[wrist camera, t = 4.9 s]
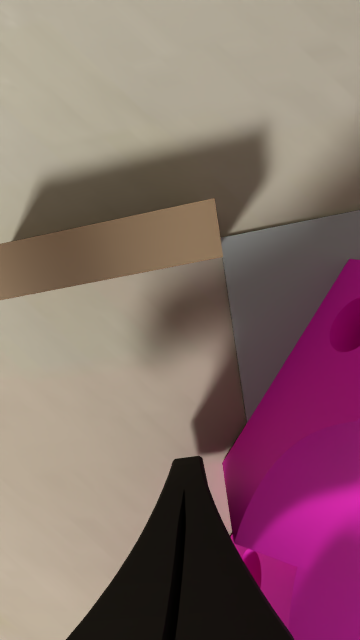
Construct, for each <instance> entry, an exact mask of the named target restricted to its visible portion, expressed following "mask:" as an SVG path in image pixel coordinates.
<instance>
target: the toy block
mask: <svg viewBox="0 0 360 640" xmlns="http://www.w3.org/2000/svg"><path fill="white" fill-rule="evenodd" d="M222 464H223V471H224V478H225V485H226V492H227V499H228V505H229V512H230V519H231V526H232V533H233V534H232V535H231V537H230V538H231V539H232V541H233V543H234V545H235V547H236V549H237V551H238V552H239V554H240V556H241V558H242V560H243V561H244V563H245V565H246V566H247V568H248V570H249V571H250V573H251V575H252V576H253V578H254V579H255V581H256V583H257V584H258V586H259V588H260V589H261V591H262V592H263V594H264V595H265V597H266V598H267V600H268V601H269V603H270V604H271V606H272V607H273V609H274V610H275V612H276V613H277V615H278V616H279V618H280V619H281V620H282V622H283V623H284V625H285V626H286V627H287V629H288V630H289V632H290V633H291V634H292V636H293V638H294V640H360V260H355V259H349V260H348V262H347V263H346V265H345V266H344V268H343V270H342V271H341V273H340V274H339V276H338V278H337V279H336V281H335V282H334V284H333V286H332V287H331V289H330V291H329V292H328V294H327V295H326V297H325V299H324V300H323V302H322V303H321V305H320V307H319V308H318V310H317V311H316V313H315V315H314V316H313V318H312V319H311V321H310V323H309V324H308V326H307V328H306V329H305V331H304V332H303V334H302V336H301V337H300V339H299V340H298V342H297V344H296V345H295V347H294V348H293V350H292V352H291V353H290V355H289V356H288V358H287V360H286V361H285V363H284V365H283V366H282V368H281V369H280V371H279V373H278V374H277V376H276V377H275V379H274V381H273V382H272V384H271V385H270V387H269V389H268V390H267V392H266V393H265V395H264V397H263V398H262V400H261V402H260V403H259V405H258V406H257V408H256V410H255V411H254V413H253V414H252V416H251V418H250V419H249V421H248V422H247V424H246V426H245V427H244V429H243V430H242V432H241V434H240V435H239V437H238V439H237V440H236V442H235V443H234V445H233V447H232V448H231V450H230V451H229V453H228V455H227V456H226V458H225V459H224V461H223V463H222Z"/></svg>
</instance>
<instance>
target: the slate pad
mask: <svg viewBox="0 0 360 640" xmlns="http://www.w3.org/2000/svg"><path fill="white" fill-rule="evenodd" d="M220 239H221V245H222V252H223V264H224V271H225V277H226V284H227V291H228V298H229V305H230V311H231V318H232V325H233V332H234V338H235V345H236V352H237V359H238V366H239V372H240V379H241V386H242V393H243V400H244V406H245V413H246V420H247V422H248V421H249V419H250V418H251V416H252V414H253V413H254V411H255V410H256V408H257V406H258V405H259V403H260V402H261V400H262V398H263V397H264V395H265V393H266V392H267V390H268V389H269V387H270V385H271V384H272V382H273V381H274V379H275V377H276V376H277V374H278V373H279V371H280V369H281V368H282V366H283V365H284V363H285V361H286V360H287V358H288V356H289V355H290V353H291V352H292V350H293V348H294V347H295V345H296V344H297V342H298V340H299V339H300V337H301V336H302V334H303V332H304V331H305V329H306V328H307V326H308V324H309V323H310V321H311V319H312V318H313V316H314V315H315V313H316V311H317V310H318V308H319V307H320V305H321V303H322V302H323V300H324V299H325V297H326V295H327V294H328V292H329V291H330V289H331V287H332V286H333V284H334V282H335V281H336V279H337V278H338V276H339V274H340V273H341V271H342V270H343V268H344V266H345V265H346V263H347V262H348V260H349V259H355V260H360V210H357V211H352V212H347V213H342V214H337V215H332V216H327V217H322V218H317V219H312V220H307V221H302V222H297V223H292V224H287V225H282V226H277V227H272V228H267V229H262V230H257V231H252V232H247V233H242V234H237V235H232V236H227V237H222V238H220Z"/></svg>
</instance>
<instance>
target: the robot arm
mask: <svg viewBox="0 0 360 640" xmlns="http://www.w3.org/2000/svg"><path fill="white" fill-rule="evenodd" d="M66 640H294V638H293V636H292V634H291V633H290V632H289V630H288V629H287V627H286V626H285V625H284V623H283V622H282V620H281V619H280V618H279V616H278V615H277V613H276V612H275V610H274V609H273V607H272V606H271V604H270V603H269V601H268V600H267V598H266V597H265V595H264V594H263V592H262V591H261V589H260V588H259V586H258V584H257V583H256V581H255V579H254V578H253V576H252V575H251V573H250V571H249V570H248V568H247V566H246V565H245V563H244V561H243V560H242V558H241V556H240V554H239V552H238V551H237V549H236V547H235V545H234V543H233V541H232V539H231V538H230V536H229V534H228V532H227V530H226V528H225V526H224V523H223V521H222V519H221V517H220V515H219V512H218V510H217V508H216V505H215V503H214V500H213V498H212V495H211V493H210V490H209V487H208V483H207V478H206V473H205V469H204V464H203V459H202V457H200V456H195V457H187V458H179V459H175V460H174V461H173V463H172V466H171V469H170V472H169V475H168V477H167V480H166V482H165V485H164V488H163V490H162V492H161V494H160V497H159V499H158V501H157V504H156V506H155V508H154V510H153V512H152V514H151V516H150V518H149V520H148V522H147V524H146V526H145V528H144V530H143V532H142V533H141V535H140V537H139V539H138V541H137V542H136V544H135V546H134V547H133V549H132V551H131V552H130V554H129V556H128V557H127V559H126V560H125V562H124V563H123V565H122V566H121V568H120V570H119V571H118V573H117V574H116V576H115V577H114V579H113V580H112V581H111V583H110V584H109V586H108V587H107V588H106V590H105V591H104V592H103V594H102V595H101V596H100V598H99V599H98V600H97V602H96V603H95V604H94V606H93V607H92V608H91V610H90V611H89V612H88V614H87V615H86V616H85V617H84V619H83V620H82V621H81V622H80V624H79V625H78V626H77V627H76V628H75V629H74V631H73V632H72V633H71V634H70V635H69V637H68V638H67V639H66Z"/></svg>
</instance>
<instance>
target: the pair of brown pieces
mask: <svg viewBox="0 0 360 640" xmlns="http://www.w3.org/2000/svg"><path fill="white" fill-rule="evenodd" d="M220 257H223V252H222V245H221V239H220V232H219V225H218V218H217V211H216V205H215V198H212V199H208V200H203V201H198V202H194V203H189V204H184V205H180V206H175V207H170V208H166V209H161V210H156V211H152V212H147V213H142V214H138V215H133V216H128V217H124V218H119V219H114V220H110V221H105V222H100V223H96V224H91V225H86V226H82V227H77V228H72V229H68V230H63V231H58V232H54V233H49V234H44V235H40V236H35V237H30V238H26V239H21V240H16V241H12V242H7V243H2V244H0V300H4V299H9V298H14V297H19V296H24V295H29V294H35V293H40V292H45V291H50V290H55V289H60V288H65V287H71V286H76V285H81V284H86V283H91V282H96V281H101V280H107V279H112V278H117V277H122V276H127V275H132V274H138V273H143V272H148V271H153V270H158V269H163V268H168V267H174V266H179V265H184V264H189V263H194V262H199V261H204V260H210V259H215V258H220Z"/></svg>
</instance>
